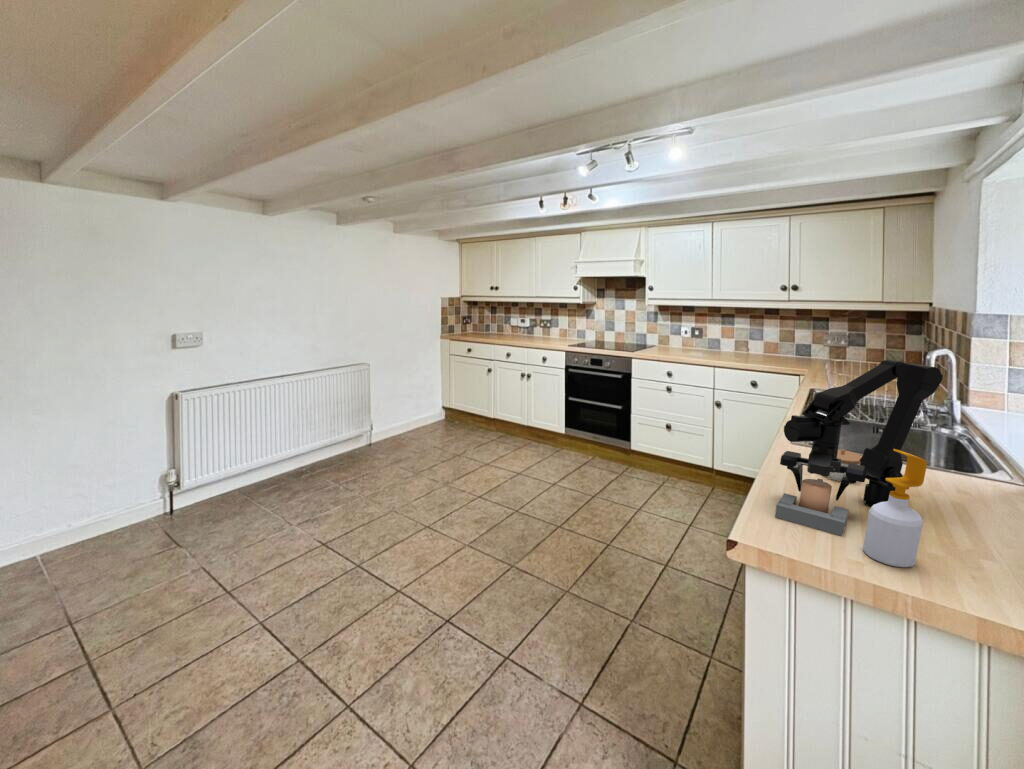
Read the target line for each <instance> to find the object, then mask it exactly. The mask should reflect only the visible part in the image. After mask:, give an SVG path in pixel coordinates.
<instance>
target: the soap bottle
mask: <svg viewBox="0 0 1024 769" xmlns="http://www.w3.org/2000/svg"><path fill="white" fill-rule="evenodd" d="M893 451H896V452H899V453H900V454H901V455H904V456H906V458H907V459H906V463H905V464H906V465H905V469H904V470H905V471H904V474H903V477H899V478H886V481H888V482H890V483H892V484H893V486H894V487H896V488H895V491H890V494H889V499H888V501H886V502H880V503H877V504H874V505H873V506H870V509H869V512H868V516H867V522H866V527H865V533H864V534H865V535H864V541H863V545H862V550H863V551H864V553H865V555H867V556H868V557H870V558H872V559H873V560H875V561H877V562H879V563H882V564H885V565H887V566H891V567H897V568H910V567H914V566H915V563H916V560H917V556H918V550H919V546H920V545H919V544H920V541H921V540H920V539H921V535H922V530H923V529H922V528H923V526H924V525H923V524H924V521H923V517H922V516H921V515H920V514H919V513H918V512H917V511H916V510H915V509H913V508H912V507H910V506H909V501H910V498H911V497H910V495H909V494H907V493H906V490H908V491H909V490H910V488H917V487H921V486H922V485H923V483H924V481H925V477H926V472H927V465H928V463H927V460H926V459H924V458H921V457H919V456H916V455H913V454H911V453H908V452H905V451H902V450H901V451H900V450H896V449H893Z"/></svg>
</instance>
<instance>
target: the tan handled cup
mask: <svg viewBox="0 0 1024 769" xmlns="http://www.w3.org/2000/svg"><path fill="white" fill-rule="evenodd" d="M832 487H833V486H832V485H831V484H830V483H828V482H827V481H824V479H823V478H817V479H814V478H805V479H802V487H801V492H800V494H799V496H800V497H799V503H798V506H801V507H804V508H808V509H812V510H816V511H820V512H824V513H828V514H829V507H830V501H831V494H832Z"/></svg>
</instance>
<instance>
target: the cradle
mask: <svg viewBox="0 0 1024 769" xmlns="http://www.w3.org/2000/svg"><path fill="white" fill-rule="evenodd" d="M797 499H798V496H796V495H792V494H789V493H785V492H784V493H783V494H782V495H781V498H780V499H779V500H778V502H777V504H776V505H775V506H776V508H775V514H774V515H775V516H774V517H775V519H779V520H783V521H787V522H790V523H793V524H796V525H797V524H798V525H800V526H801V525H802V526H805V527H807V528H812V529H814V530H818V531H821V532H826V533H829V534H833V535H837V536H840V537H843V535H844V532H845V528H846V525H847V522H848V516H849V508H845V507H840V506H837V505H834V506H833V509H832V511H831V513H829V512H828V513H824V512H820V511H816V510H812V509H808V508H804V507H801V506H799V505H797Z"/></svg>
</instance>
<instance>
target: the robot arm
mask: <svg viewBox="0 0 1024 769" xmlns="http://www.w3.org/2000/svg"><path fill="white" fill-rule="evenodd" d="M943 377H944V376H943V374H942V372H941V370H940V369H939V368H938V367H936V366H931V365H926V364H925V365H923V364H918V363H907V362H906V363H905V362H904V361H900V360H893V359H886V360H885V359H884V360H882V361H880V363H879V364H878V365H876V366H875V367H873V368H872V369H870V370H868V371H865V373H863V374H861V375H859V376H857V377H856V378H855V379H853V380H851V381H849V382H847V383H845V384H844V385H841V386H837V387H836V386H835V387H831V388H828V389H825V390H823V391H820V392H818V393H817V394H816V395H815V396H814V399H813V400H812V401H811V402H810V404H809V405H808V406H807V407H806V408H805V410H804V411H803V412H802V414H801V415H795V414H794V415H791V417H790V418H791V419H789V420H788V421H787V422H786V423H785V424H784V426H783V434H784V437H785V438H786V440H788V441H789V442H790V443H801V442H802V443H803V442H811V443H812V444H811V450H810V453H809V454H808V458H806V457H802V453H801V452H795V451H790V450H786V451H784V452H783V454H781V456H780V460H779V464H780V465H781V466H783V467H785V466H786V469H787V470H790V471H791V472H792V474H793V476H794V479H795V482H796V487H797V491H798V492H800V493H801V487H802V481H803V472H804V471H803V470H804V466H806V467H807V469H806V470H807V473H809V474H815V475H820V476H822V477H827V476H829V475H830V472H832V473H834V472H836V473H844V475H843V478H842V480H841V482H840V484H839V487H838V490H837V493H836V494H835V501H836V502H838V501H839V499H840V498H841V495H842V494H843V493H844V491H845V490H846V488H847V487H848V486H849V485H851V484H856V483H857V482H859V483H865V481H866V480H868V483H865V487H864V492H863V501H864V505H865V506H869V507H872V506H873V505H874V504H877V503H880V502H886V501H888V499H889V494H890V491H895V488H896V487H894V486H893V484H892V483H890V482H888V481H886V478H899V477H903V476H904V474H903V473H902V468H903V465H904V463H903V457H902V454H901V453H899V452H896V451H893V449H896V450H900V451H902V449H903V446H904V444H905V442H906V440H907V437H908V435H909V433H910V430H911V428H912V425H913V424H914V421H915V419H916V416H917V414H918V412H919V410H920V407H921V405H922V403H923V402H924V400H926V399H927V398H929V397H930V396H933V395H934V393H936V392H937V390H938V388H939V386H940V384H941V383H942V381H943ZM894 380H896V388H897V392H898V396H897V397H896V398H897V399H896V400H895V403H894V405H893V408H892V410H891V412H890V415H889V417H888V419H887V422H886V424H885V427H884V429H883V431H882V433H881V435H880V438H879V440H878V442H877V444H876V445H874V446H873V447H872V448H868V447H866V448H865V449H864V450H863V453H862V455H861V456H862V458H861V459H860V460H859V461H861V463H860V465H857V464H852V463H849V464H848V467H846V466H841V459H837V453H838V450H839V446H840V438H841V434H842V432H841V431H842V426H849V425H851V422H850V421H849V419H847V418H846V417H845V416H846V415H848V414H849V413H850V412H852V411H853V410H854V409H855V408H856V406H857V403H858V402H859V401H860V400H861V399H863V398H865V397H867V396H869V395H870V394H872V393H873V392H875V391H877V390H879V389H880V388H882V387H883V386H885V385H887V384H889V383H890V382H892V381H894Z"/></svg>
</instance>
